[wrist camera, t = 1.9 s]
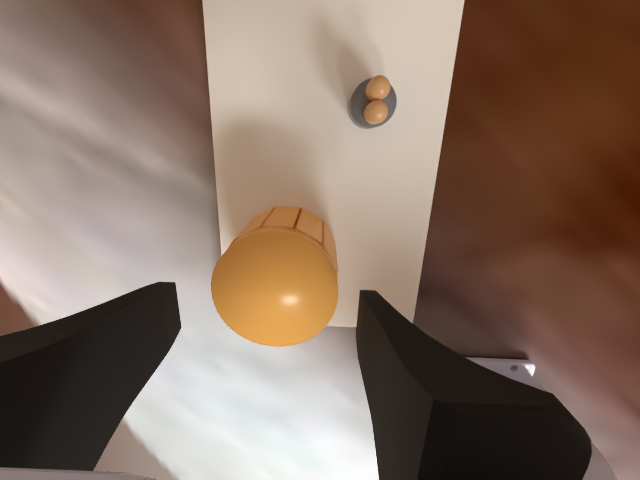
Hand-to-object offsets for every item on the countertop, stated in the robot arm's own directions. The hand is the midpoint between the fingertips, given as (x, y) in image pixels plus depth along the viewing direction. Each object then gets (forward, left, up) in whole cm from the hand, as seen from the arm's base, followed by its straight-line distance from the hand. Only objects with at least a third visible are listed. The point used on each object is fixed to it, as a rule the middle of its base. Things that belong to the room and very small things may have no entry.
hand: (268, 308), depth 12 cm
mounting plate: (-2, -4, -8) cm, 9 cm away
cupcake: (0, 0, -6) cm, 6 cm away
